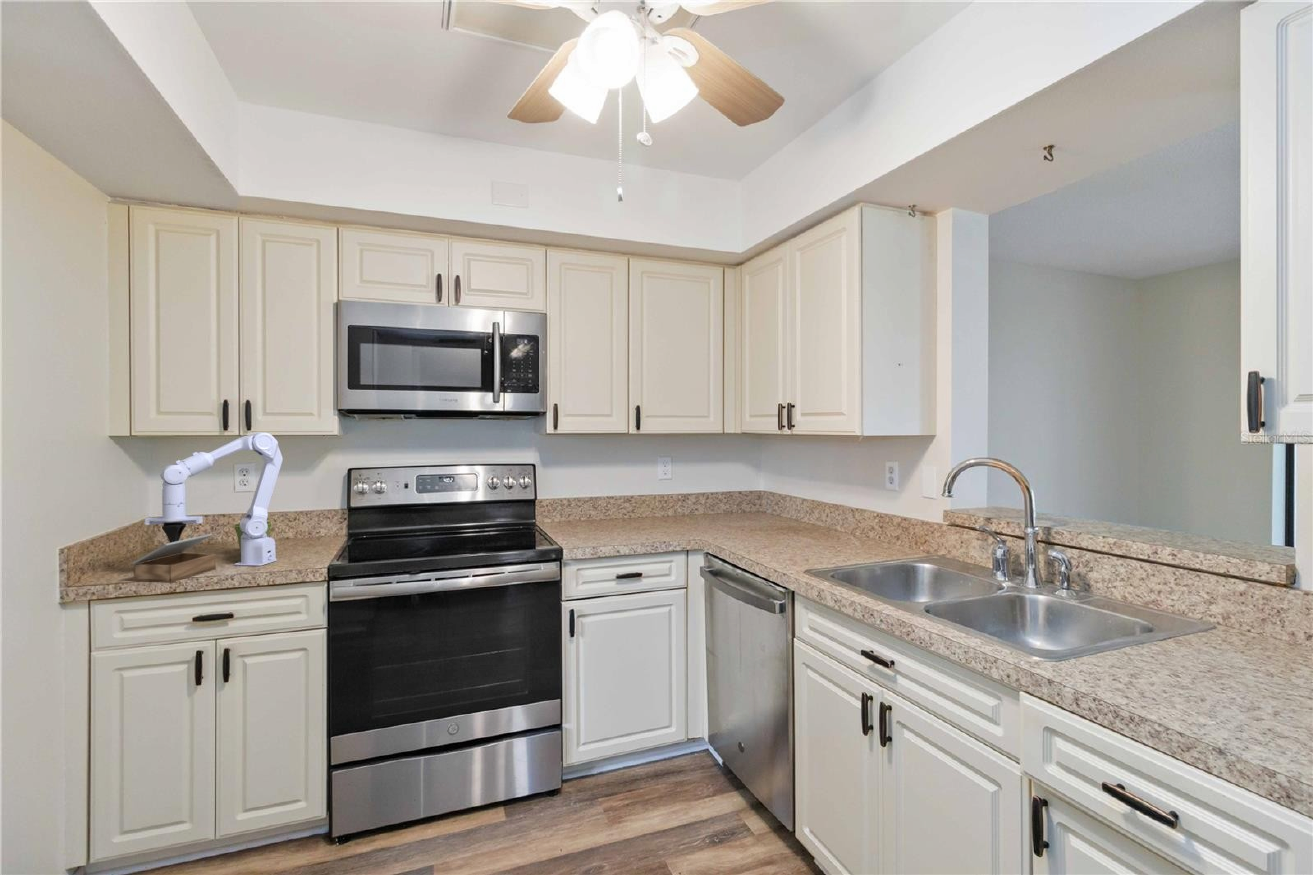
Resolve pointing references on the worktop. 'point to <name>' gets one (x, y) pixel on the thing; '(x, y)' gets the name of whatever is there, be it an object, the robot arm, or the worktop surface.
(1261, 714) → the worktop surface
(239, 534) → the plant pot
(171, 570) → the box base
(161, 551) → the lid
